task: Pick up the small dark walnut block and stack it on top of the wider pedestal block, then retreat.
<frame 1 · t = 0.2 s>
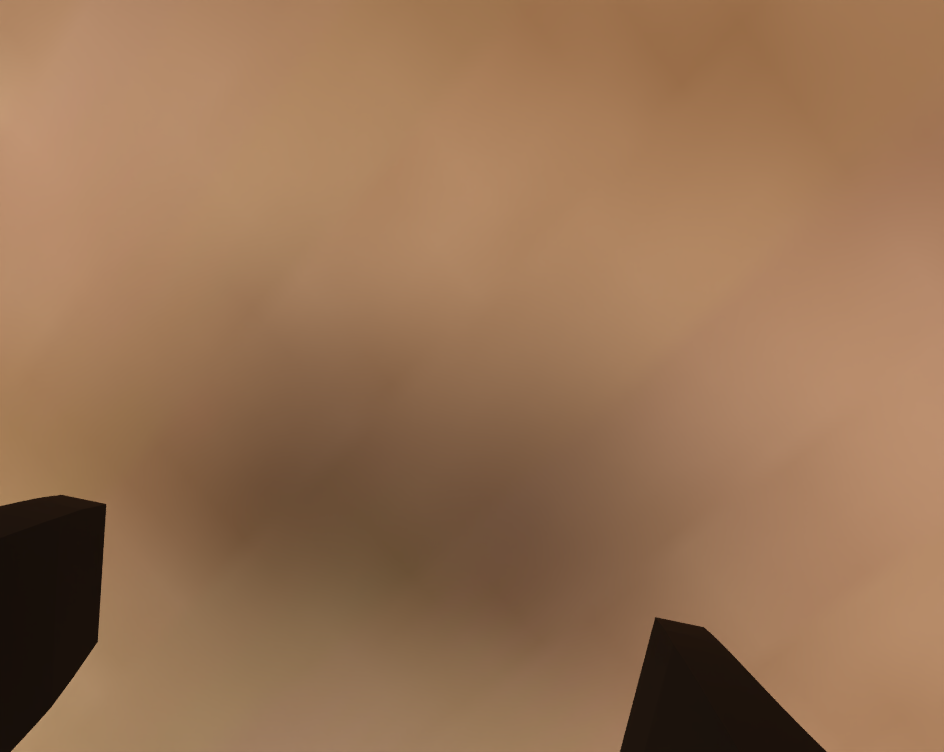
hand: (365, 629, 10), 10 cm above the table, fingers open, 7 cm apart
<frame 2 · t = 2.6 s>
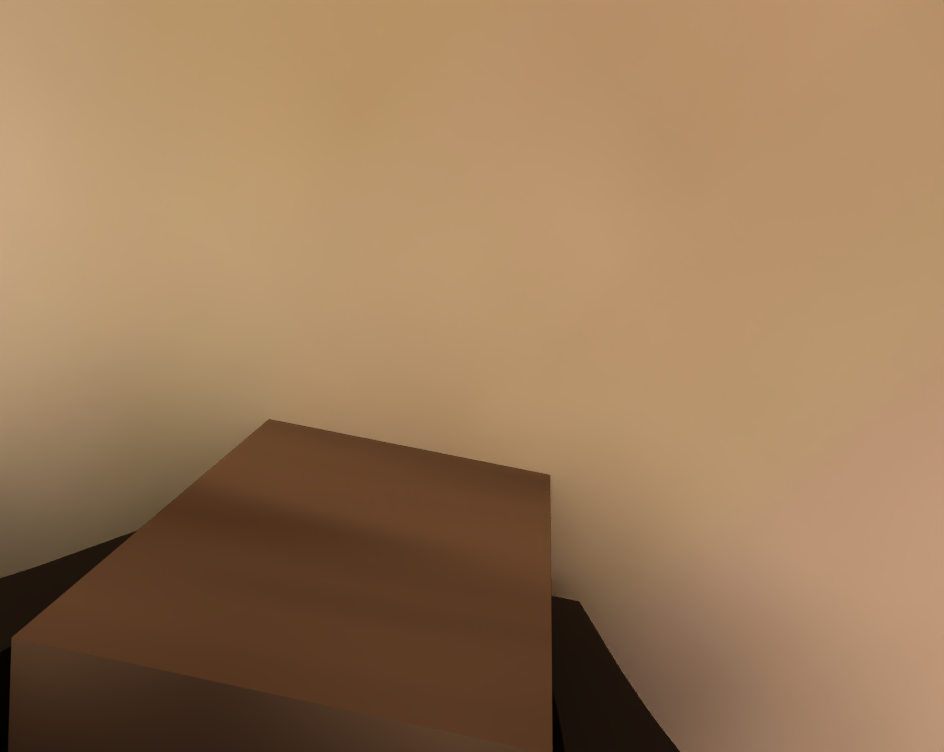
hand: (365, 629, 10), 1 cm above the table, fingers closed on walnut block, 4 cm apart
walnut block: (387, 575, 11), on the table, touching gripper
when the fingers open (6 cm above the table, at t = 8.7 s): walnut block drops 1 cm, resting on pedestal block.
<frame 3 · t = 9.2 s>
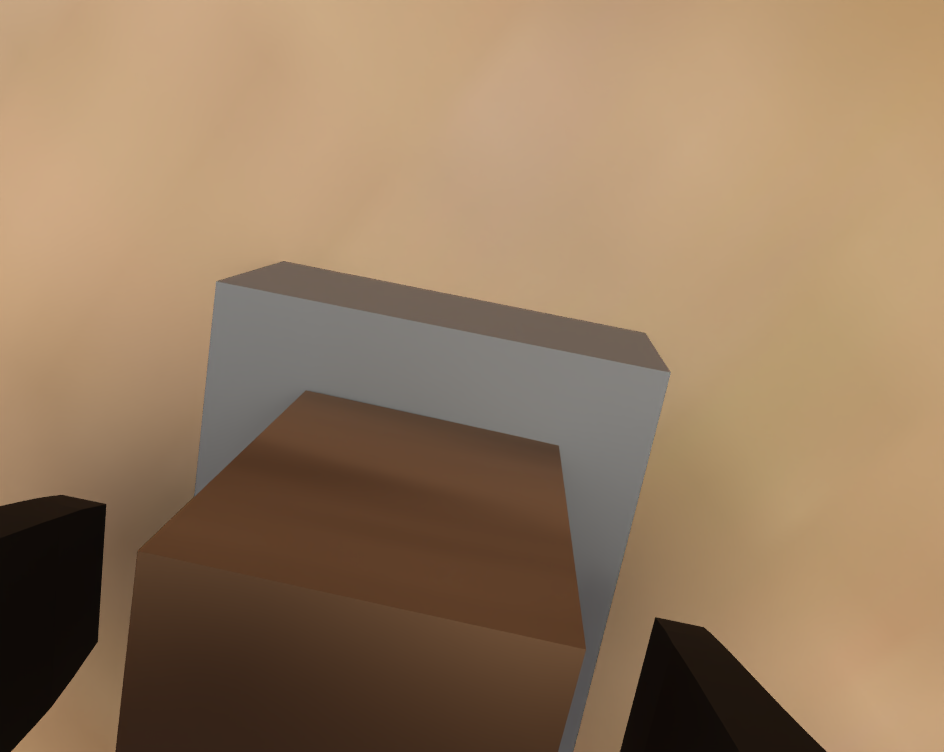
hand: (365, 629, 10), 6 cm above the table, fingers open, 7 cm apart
pedestal block: (433, 461, 16), on the table, touching walnut block
walnut block: (408, 534, 13), point 3 cm above the table, touching pedestal block
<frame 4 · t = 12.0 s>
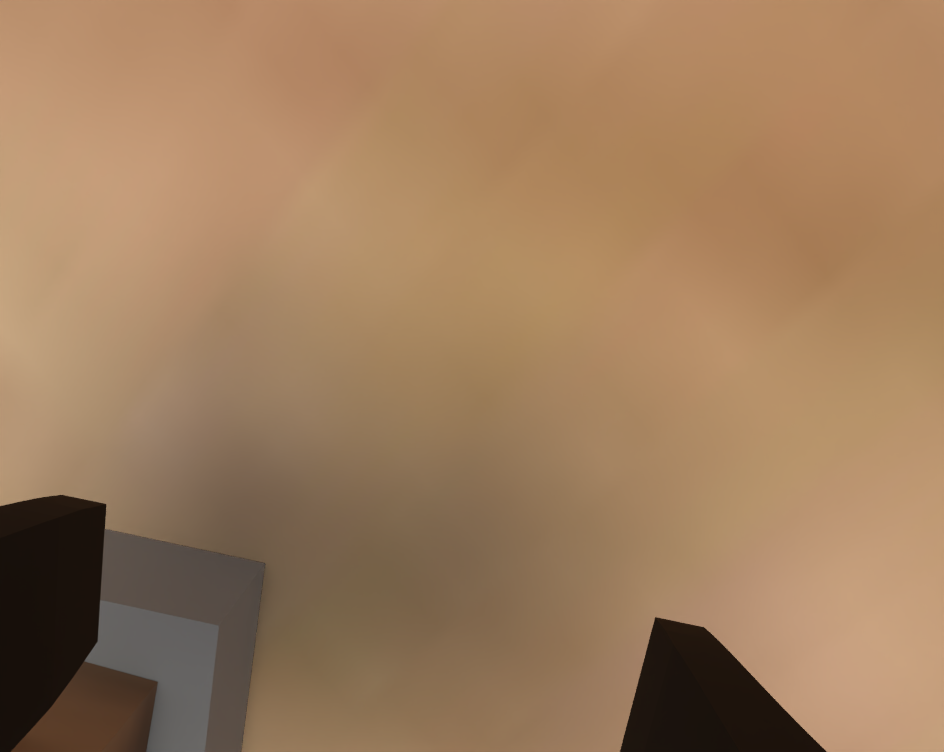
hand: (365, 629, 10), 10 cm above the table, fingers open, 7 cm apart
pedestal block: (139, 640, 23), on the table, touching walnut block
walnut block: (70, 728, 20), point 3 cm above the table, touching pedestal block
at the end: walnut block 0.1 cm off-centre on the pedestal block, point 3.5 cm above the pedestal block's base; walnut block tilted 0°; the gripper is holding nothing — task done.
